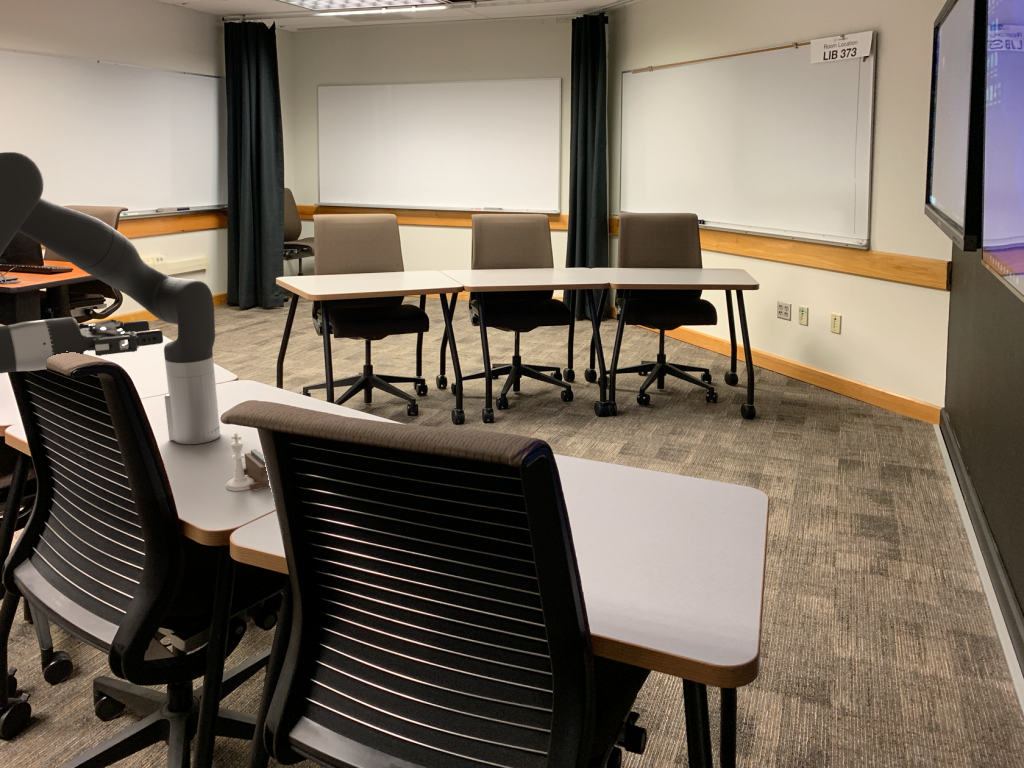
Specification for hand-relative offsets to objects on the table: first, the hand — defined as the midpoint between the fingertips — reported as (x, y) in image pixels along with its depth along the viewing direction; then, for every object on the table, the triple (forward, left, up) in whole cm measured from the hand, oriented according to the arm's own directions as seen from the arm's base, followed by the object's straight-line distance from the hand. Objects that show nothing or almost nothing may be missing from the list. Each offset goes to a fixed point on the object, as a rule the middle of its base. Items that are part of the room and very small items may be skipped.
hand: (155, 331), depth 144 cm
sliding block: (+10, +11, -30) cm, 33 cm away
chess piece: (+8, +9, -30) cm, 32 cm away
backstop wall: (+10, +12, -30) cm, 34 cm away
